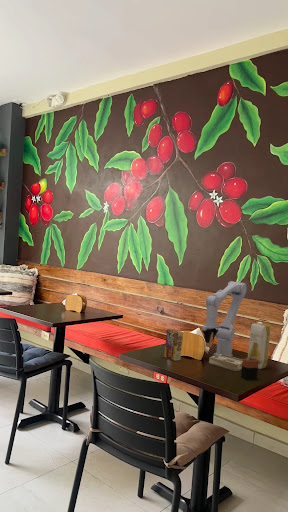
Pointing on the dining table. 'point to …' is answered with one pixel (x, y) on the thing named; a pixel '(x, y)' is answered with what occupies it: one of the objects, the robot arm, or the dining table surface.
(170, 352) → the candy box
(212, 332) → the peg
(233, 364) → the tray
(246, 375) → the battery
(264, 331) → the juice carton
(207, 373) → the dining table surface
